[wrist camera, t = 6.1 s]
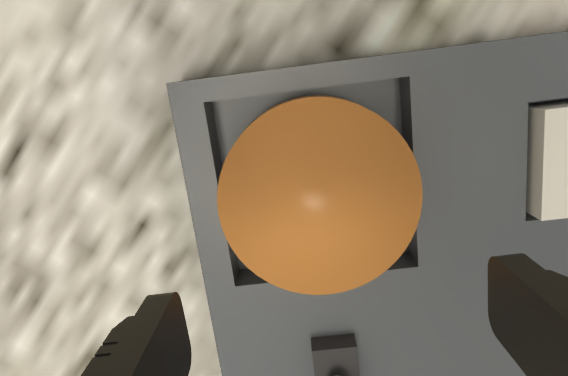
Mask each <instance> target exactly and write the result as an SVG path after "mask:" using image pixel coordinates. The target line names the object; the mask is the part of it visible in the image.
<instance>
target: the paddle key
mask: <svg viewBox="0 0 568 376" xmlns="http://www.w3.org/2000/svg"><path fill="white" fill-rule="evenodd" d="M526 212H527V213H529V214H530V215H532V216H534V217H535V218H537V219H539V220H540V221H546V220H555V219H564V218H568V101H561V102H553V103H545V104H537V105H529V106H528V140H527V181H526Z"/></svg>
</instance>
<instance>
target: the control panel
mask: <svg viewBox="0 0 568 376" xmlns="http://www.w3.org/2000/svg"><path fill="white" fill-rule="evenodd" d="M166 84H167V90H168V95H169V100H170V105H171V111H172V116H173V121H174V126H175V131H176V137H177V142H178V147H179V152H180V158H181V163H182V168H183V173H184V179H185V184H186V189H187V194H188V200H189V205H190V210H191V215H192V220H193V226H194V231H195V236H196V241H197V247H198V252H199V257H200V262H201V268H202V273H203V278H204V283H205V289H206V294H207V299H208V304H209V309H210V315H211V320H212V325H213V330H214V336H215V341H216V346H217V351H218V357H219V362H220V367H221V372H222V376H335V375H342V376H526V375H525V373H524V372H523V371H522V370H521V368H520V367H519V366H518V364H517V363H516V362H515V361H514V359H513V358H512V357H511V356H510V354H509V353H508V352H507V351H506V349H505V348H504V347H503V345H502V344H501V343H500V342H499V340H498V339H497V338H496V336H495V335H494V333H493V331H492V328H491V325H490V322H489V317H488V261H489V259H490V258H491V257H492V256H501V255H509V254H518V253H524V254H525V255H527V256H528V257H530V258H531V259H532V260H533V261H535V262H536V263H537V264H539V265H540V266H541V267H543V268H544V269H545V270H552V271H554V272H556V273H559V274H561V275H564V276H566V277H568V218H564V219H555V220H546V221H540V220H539V219H537V218H535V217H534V216H532V215H530V214H529V213H527V212H526V181H527V140H528V106H529V105H537V104H545V103H553V102H561V101H568V31H565V32H558V33H550V34H542V35H534V36H527V37H519V38H511V39H504V40H496V41H488V42H480V43H473V44H465V45H457V46H449V47H442V48H434V49H426V50H419V51H411V52H403V53H395V54H388V55H380V56H372V57H365V58H357V59H349V60H341V61H334V62H326V63H318V64H311V65H303V66H295V67H287V68H280V69H272V70H264V71H256V72H249V73H241V74H233V75H226V76H218V77H210V78H202V79H195V80H187V81H179V82H172V83H166ZM313 95H323V96H333V97H338V98H343V99H346V100H349V101H352V102H354V103H357V104H359V105H361V106H363V107H365V108H367V109H369V110H371V111H373V112H374V113H376V114H378V115H379V116H381V117H382V118H383V119H385V120H386V121H388V122H389V123H390V124H391V125H392V126H393V127H394V128H395V129H396V130H397V131H398V132H399V133H400V135H401V136H402V137H403V138H404V140H405V141H406V142H407V144H408V146H409V147H410V149H411V151H412V152H413V155H414V157H415V159H416V162H417V164H418V167H419V171H420V175H421V181H422V190H423V197H422V209H421V215H420V219H419V222H418V225H417V229H416V231H415V233H414V235H413V238H412V240H411V242H410V243H409V245H408V246H407V248H406V250H405V251H404V252H403V254H402V255H401V256H400V257H399V259H398V260H397V261H396V262H395V263H394V264H393V265H392V266H391V267H390V268H389V269H388V270H386V271H385V272H384V273H382V274H381V275H380V276H378V277H377V278H375V279H373V280H372V281H370V282H368V283H366V284H364V285H362V286H360V287H357V288H355V289H352V290H348V291H345V292H341V293H335V294H328V295H309V294H301V293H296V292H291V291H288V290H285V289H282V288H279V287H277V286H275V285H272V284H270V283H268V282H266V281H265V280H263V279H262V278H260V277H258V276H257V275H256V274H255V273H253V272H252V271H251V270H250V269H248V268H247V267H246V266H245V265H244V264H243V263H242V261H241V260H240V259H239V258H238V257H237V255H236V254H235V253H234V251H233V250H232V248H231V247H230V245H229V243H228V241H227V239H226V237H225V235H224V232H223V230H222V227H221V223H220V219H219V215H218V206H217V189H218V183H219V177H220V173H221V170H222V167H223V164H224V162H225V160H226V157H227V155H228V153H229V151H230V150H231V148H232V147H233V145H234V144H235V142H236V141H237V139H238V138H239V137H240V135H241V134H242V133H243V131H244V130H245V129H246V128H247V127H248V126H249V125H250V123H251V122H253V121H254V120H255V119H256V118H257V117H258V116H259V115H261V114H262V113H264V112H265V111H267V110H268V109H270V108H271V107H273V106H275V105H277V104H279V103H281V102H284V101H287V100H290V99H293V98H298V97H303V96H313Z"/></svg>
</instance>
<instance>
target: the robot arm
mask: <svg viewBox="0 0 568 376" xmlns="http://www.w3.org/2000/svg"><path fill="white" fill-rule="evenodd" d="M488 317H489V322H490V325H491V328H492V331H493V333H494V335H495V336H496V338H497V339H498V340H499V342H500V343H501V344H502V345H503V347H504V348H505V349H506V351H507V352H508V353H509V354H510V356H511V357H512V358H513V359H514V361H515V362H516V363H517V364H518V366H519V367H520V368H521V370H522V371H523V372H524V373H525V375H526V376H568V277H566V276H564V275H561V274H559V273H556V272H554V271H552V270H545V269H544V268H543V267H541V266H540V265H539V264H537V263H536V262H535V261H533V260H532V259H531V258H530V257H528V256H527V255H525V254H524V253H518V254H509V255H501V256H492V257H491V258H490V259H489V261H488ZM190 366H191V345H190V340H189V335H188V330H187V326H186V321H185V316H184V312H183V307H182V302H181V299H180V296H179V294H178V293H177V292H173V293H164V294H155V295H148V296H147V297H146V298H145V300H144V301H143V303H142V305H141V306H140V308H139V309H138V311H137V313H136V314H135V316H130V317H127V318H126V319H124V320H123V321H122V322H121V323H119V324H118V325H117V326H116V327H114V328H113V329H112V330H111V332H110V333H109V335H108V336H107V338H106V339H105V341H104V342H103V346H100V348H99V349H98V351H97V352H96V354H95V358H92V360H91V361H90V363H89V364H88V366H87V367H86V369H85V370H84V372H83V373H82V375H81V376H188V374H189V371H190Z"/></svg>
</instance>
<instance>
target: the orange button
mask: <svg viewBox="0 0 568 376" xmlns="http://www.w3.org/2000/svg"><path fill="white" fill-rule="evenodd" d="M422 197H423V190H422V181H421V175H420V171H419V167H418V164H417V162H416V159H415V157H414V155H413V152H412V151H411V149H410V147H409V146H408V144H407V142H406V141H405V140H404V138H403V137H402V136H401V135H400V133H399V132H398V131H397V130H396V129H395V128H394V127H393V126H392V125H391V124H390V123H389V122H388V121H386V120H385V119H383V118H382V117H381V116H379V115H378V114H376V113H374V112H373V111H371V110H369V109H367V108H365V107H363V106H361V105H359V104H357V103H354V102H352V101H349V100H346V99H343V98H338V97H333V96H323V95H313V96H303V97H298V98H293V99H290V100H287V101H284V102H281V103H279V104H277V105H275V106H273V107H271V108H270V109H268V110H267V111H265V112H264V113H262V114H261V115H259V116H258V117H257V118H256V119H255V120H254V121H253V122H251V123H250V125H249V126H248V127H247V128H246V129H245V130H244V131H243V133H242V134H241V135H240V137H239V138H238V139H237V141H236V142H235V144H234V145H233V147H232V148H231V150H230V151H229V153H228V155H227V157H226V160H225V162H224V164H223V167H222V170H221V173H220V177H219V183H218V189H217V206H218V215H219V219H220V223H221V227H222V230H223V232H224V235H225V237H226V239H227V241H228V243H229V245H230V247H231V248H232V250H233V251H234V253H235V254H236V255H237V257H238V258H239V259H240V260H241V261H242V263H243V264H244V265H245V266H246V267H247V268H248V269H250V270H251V271H252V272H253V273H255V274H256V275H257V276H258V277H260V278H262V279H263V280H265V281H266V282H268V283H270V284H272V285H275V286H277V287H279V288H282V289H285V290H288V291H291V292H296V293H301V294H309V295H328V294H335V293H341V292H345V291H348V290H352V289H355V288H357V287H360V286H362V285H364V284H366V283H368V282H370V281H372V280H373V279H375V278H377V277H378V276H380V275H381V274H382V273H384V272H385V271H386V270H388V269H389V268H390V267H391V266H392V265H393V264H394V263H395V262H396V261H397V260H398V259H399V257H400V256H401V255H402V254H403V252H404V251H405V250H406V248H407V246H408V245H409V243H410V242H411V240H412V238H413V235H414V233H415V231H416V229H417V225H418V222H419V219H420V215H421V209H422Z"/></svg>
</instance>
